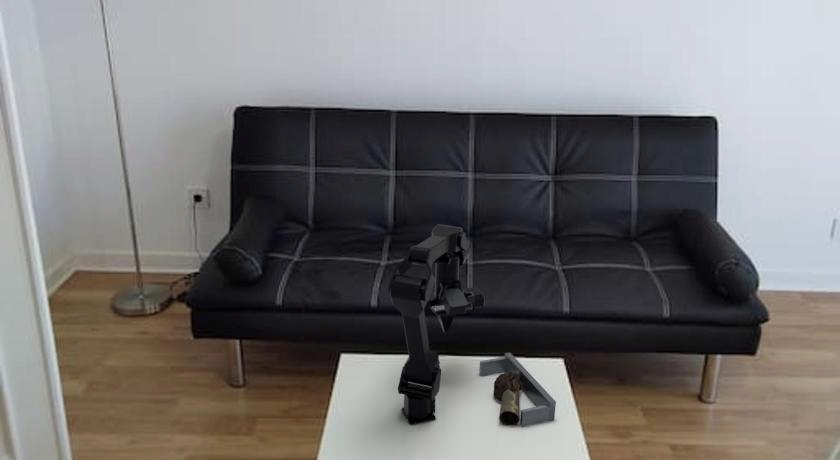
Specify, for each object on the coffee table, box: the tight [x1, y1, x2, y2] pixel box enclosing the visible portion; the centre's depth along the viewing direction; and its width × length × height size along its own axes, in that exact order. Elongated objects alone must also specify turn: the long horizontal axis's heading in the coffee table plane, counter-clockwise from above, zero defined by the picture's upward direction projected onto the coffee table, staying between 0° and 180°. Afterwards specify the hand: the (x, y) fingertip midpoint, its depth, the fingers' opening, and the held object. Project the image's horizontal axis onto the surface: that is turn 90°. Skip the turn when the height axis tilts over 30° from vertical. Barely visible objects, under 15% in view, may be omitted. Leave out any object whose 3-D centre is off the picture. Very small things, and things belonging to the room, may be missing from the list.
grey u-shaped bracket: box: [478, 352, 557, 428], centre depth 191 cm, size 8×24×5 cm, turn 20°
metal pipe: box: [493, 371, 522, 427], centre depth 188 cm, size 18×7×6 cm, turn 172°
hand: (445, 331), depth 195 cm, fingers closed
